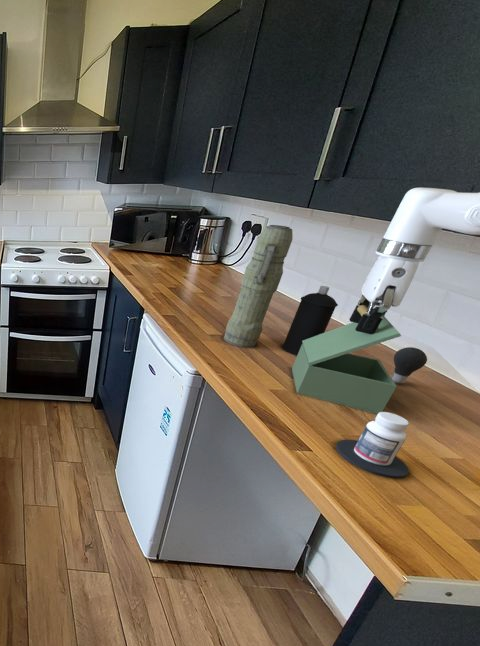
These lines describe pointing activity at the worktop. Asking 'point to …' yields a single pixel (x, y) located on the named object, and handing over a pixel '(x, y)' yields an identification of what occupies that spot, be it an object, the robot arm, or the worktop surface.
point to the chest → (345, 381)
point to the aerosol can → (309, 319)
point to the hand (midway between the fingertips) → (361, 326)
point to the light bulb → (407, 363)
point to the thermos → (258, 286)
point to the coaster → (390, 471)
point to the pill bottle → (382, 439)
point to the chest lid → (346, 340)
